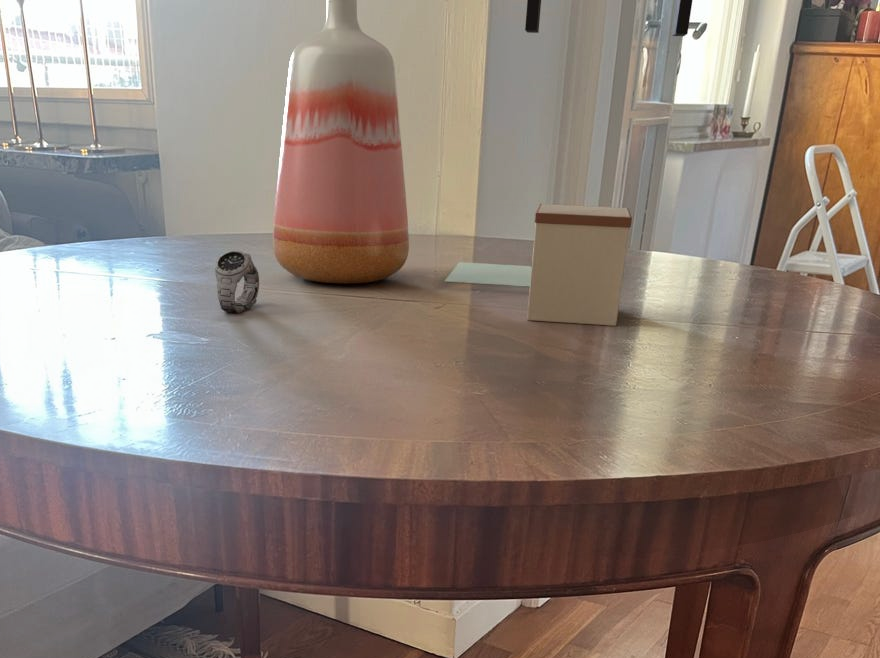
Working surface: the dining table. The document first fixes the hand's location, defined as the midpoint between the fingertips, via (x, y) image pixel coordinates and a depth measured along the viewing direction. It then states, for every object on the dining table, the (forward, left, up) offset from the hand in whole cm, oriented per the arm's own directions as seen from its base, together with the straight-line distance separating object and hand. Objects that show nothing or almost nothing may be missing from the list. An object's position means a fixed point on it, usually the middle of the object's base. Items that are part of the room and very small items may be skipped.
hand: (605, 33), depth 63 cm
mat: (+5, -39, -22) cm, 45 cm away
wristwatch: (+30, -11, -22) cm, 39 cm away
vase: (+25, -30, -22) cm, 45 cm away
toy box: (0, -18, -21) cm, 28 cm away
